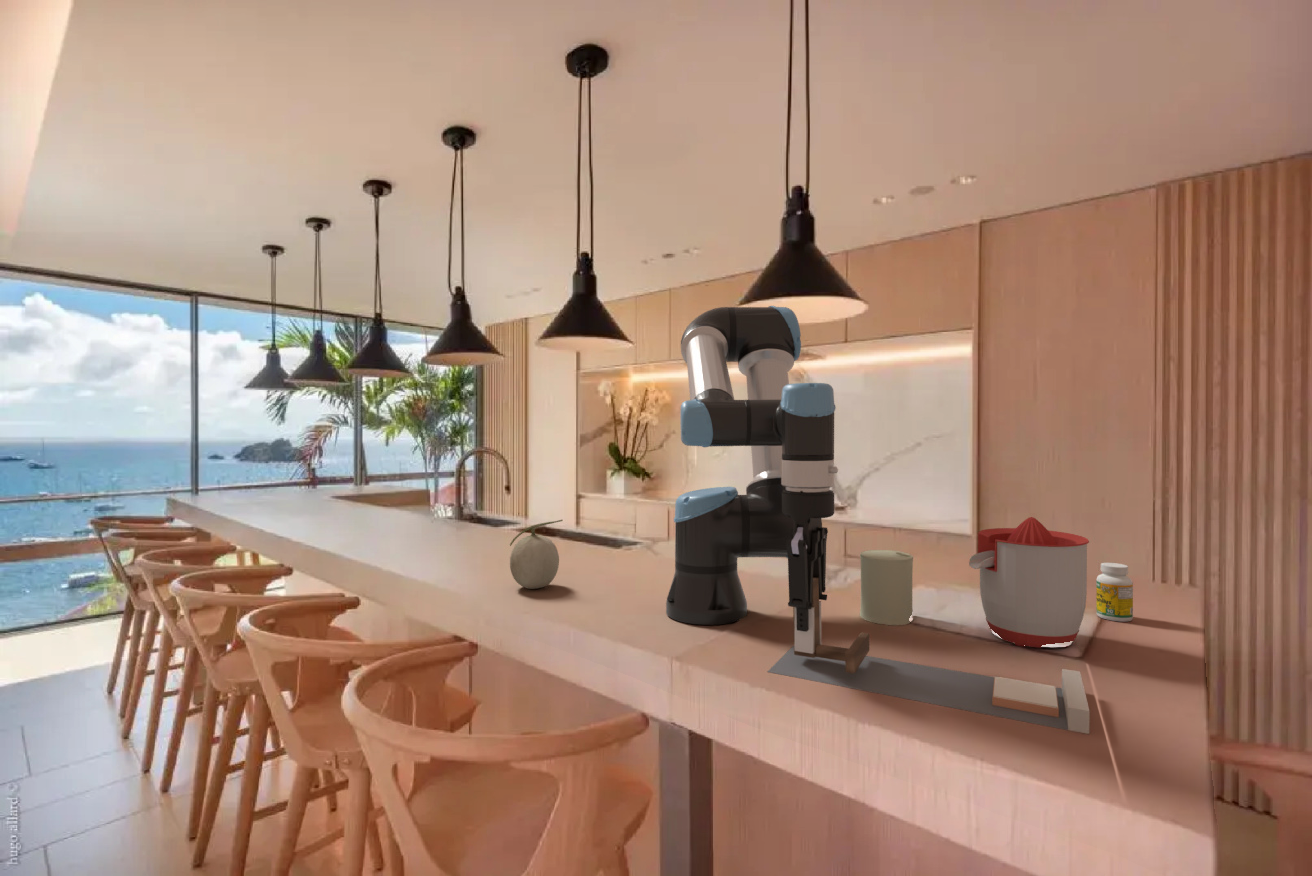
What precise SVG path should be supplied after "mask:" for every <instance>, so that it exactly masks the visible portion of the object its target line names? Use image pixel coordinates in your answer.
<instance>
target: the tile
mask: <svg viewBox="0 0 1312 876" xmlns="http://www.w3.org/2000/svg"><path fill="white" fill-rule="evenodd" d="M993 677H994V687H993V696H992V705H996V706H1001V707H1006V708H1012V709H1017V710H1022V711H1028V712H1033V713H1038V714H1044V715H1049V716H1054V717H1059V707H1058V699H1057V692H1056V688H1055V687H1056V686H1055V685H1050V684H1043V683H1038V682H1032V681H1028V680H1027V681H1025V680H1020V679H1015V678H1008V677H1000V676H996V675H995V676H993Z"/></svg>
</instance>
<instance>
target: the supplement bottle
mask: <svg viewBox="0 0 1312 876" xmlns="http://www.w3.org/2000/svg"><path fill="white" fill-rule="evenodd" d="M1100 571H1101V572H1102V573H1101V574H1098V575H1097V577H1096V580H1095V581H1096V584H1095V585H1096V594H1095V596H1096V600H1095V602H1096V603H1095V604H1096V607H1095V609H1096V610H1095V611H1096V615H1097V616H1098V618H1101V619H1104V620H1108V621H1111V622H1113V621H1114V622H1119V623H1120V622H1124V623H1128V622H1131V621H1132V620H1133V619H1134V617H1133V616H1134V615H1133V614H1134V584H1133V583H1134V582H1133V580H1132V579H1131V577H1129V576H1127V575H1128V574H1129V566H1128V565H1126V564H1124V563H1117V562H1115V563H1114V562H1101V563H1100Z"/></svg>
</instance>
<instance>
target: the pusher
mask: <svg viewBox="0 0 1312 876" xmlns="http://www.w3.org/2000/svg"><path fill="white" fill-rule="evenodd" d="M819 601H820V600H819V578H817V577H813V591H812V607H814V653H813V654H811V653H805V652H799V651H795V617H794V607H792V611H793V612H792V614H793V617H792V619H793V645H794V655H799V656H806V657H812V658H815V657H820V658H827V659H833V660H840V661H845V670H846V672H848V673H854V674H855V672H856V671H857V669H858V667H859V666H860V664H861V663H862V661H863V660H864V658H865V656H868V653H869V651H870V633H867V632H859V634H858V635H857V637H856V639H854V641H853V642H852V644H851V645H850V647H848V648H847V647H841V646H840V647H839V646H833V645H827V644H821V645H820V624H819Z"/></svg>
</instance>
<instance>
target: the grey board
mask: <svg viewBox="0 0 1312 876" xmlns="http://www.w3.org/2000/svg"><path fill="white" fill-rule="evenodd" d="M767 673H769V674H770V673H772V674H776V675H780V676H787V677H791V678H797V679H802V680H807V681H812V682H818V683H822V684H827V685H833V686H837V687H838V686H839V687H842V688H848V689H851V690H852V689H854V690H857V691H863V692H869V693H873V694H874V693H875V694H880V695H884V696H889V697H893V698H899V699H905V700H910V701H915V702H921V703H926V704H929V705H936V706H941V707H945V708H951V709H957V710H961V711H966V712H967V711H968V712H970V713H971V712H972V713H976V714H982V715H988V716H993V717H997V718H1004V719H1007V720H1012V721H1013V720H1014V721H1020V722H1024V723H1027V724H1028V723H1029V724H1032V725H1033V724H1035V725H1038V726H1039V725H1040V726H1044V727H1050V728H1055V729H1059V730H1060V729H1061V730H1065V731H1071V732H1075V733H1081V734H1084V735H1085V734H1086V735H1090V708H1089V704H1088V699H1087V695H1086V690H1085V687H1084V682H1083V678H1082V675H1081V671H1079V670H1073V669H1072V670H1071V669H1066V668H1062V669H1061V687H1058V686H1055V688H1056V692H1057V699H1058V707H1059V717H1054V716H1049V715H1044V714H1038V713H1033V712H1028V711H1022V710H1017V709H1012V708H1006V707H1001V706H996V705H992V696H993V687H994V677H995V676H989V675H984V674H977V673H972V672H964V671H960V670H955V669H948V668H942V667H936V666H931V665H924V664H918V663H912V662H907V661H901V660H894V659H888V658H883V657H876V656H870V655H866V656H865V658H864V660H863V661H862V663H861V664H860V666H859V667H858V669H857V671H856V672H855V674H854V673H848V672H846V670H845V661H840V660H833V659H827V658H820V657H815V658H812V657H806V656H799V655H794V644H793V645H792V646H791V647H790V649H788V650H787V651H786V652H785V653H784V654H783V655H782V656H781V657H780V658H779V659H778V660H777V661H776V662H775V663H774V664H773V665H772V666H771V667H770V668H769V670H767Z"/></svg>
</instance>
